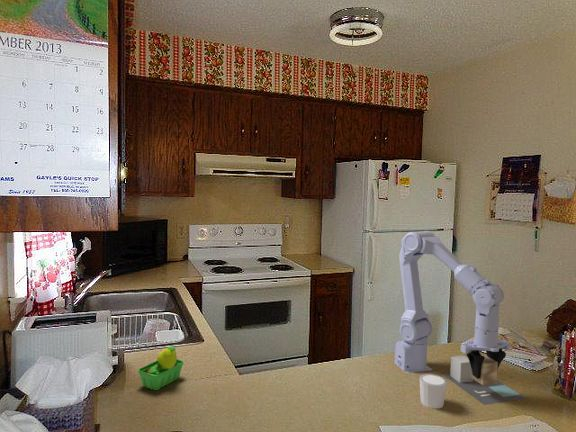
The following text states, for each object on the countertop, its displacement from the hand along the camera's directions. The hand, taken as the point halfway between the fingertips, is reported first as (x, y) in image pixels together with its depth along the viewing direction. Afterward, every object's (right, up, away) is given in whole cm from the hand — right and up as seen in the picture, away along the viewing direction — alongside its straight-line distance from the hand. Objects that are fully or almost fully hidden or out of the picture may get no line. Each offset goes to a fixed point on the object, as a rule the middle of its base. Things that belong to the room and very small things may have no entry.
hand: (483, 375), depth 110 cm
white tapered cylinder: (-16, -6, -5) cm, 18 cm away
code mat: (+2, -5, +5) cm, 8 cm away
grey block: (-2, -5, +9) cm, 10 cm away
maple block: (0, -1, 0) cm, 1 cm away
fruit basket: (-91, -4, +5) cm, 91 cm away
